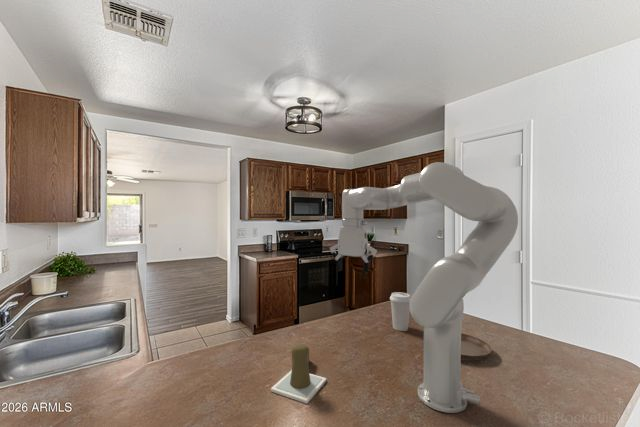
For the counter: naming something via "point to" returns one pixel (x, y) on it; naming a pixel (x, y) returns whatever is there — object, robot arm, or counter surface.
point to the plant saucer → (473, 348)
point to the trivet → (298, 394)
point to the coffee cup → (400, 310)
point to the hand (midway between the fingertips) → (352, 272)
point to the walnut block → (307, 358)
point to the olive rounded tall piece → (300, 367)
